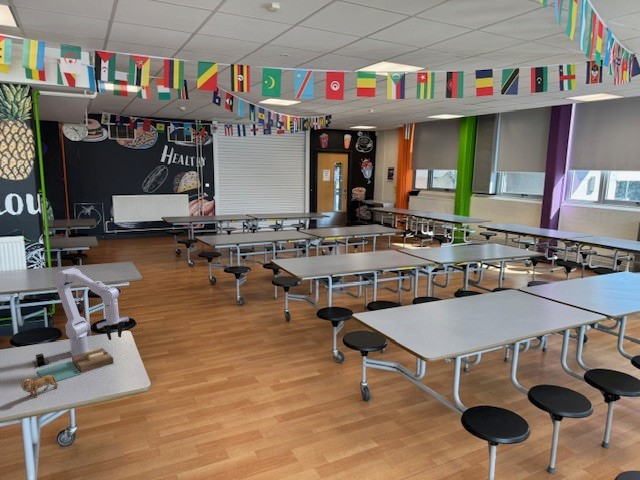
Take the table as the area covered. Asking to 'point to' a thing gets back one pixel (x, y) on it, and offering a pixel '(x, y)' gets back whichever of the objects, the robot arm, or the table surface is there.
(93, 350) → the beech tile
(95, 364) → the walnut board
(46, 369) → the teal mat
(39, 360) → the black slotted bracket
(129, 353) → the table surface
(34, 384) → the lion figurine
